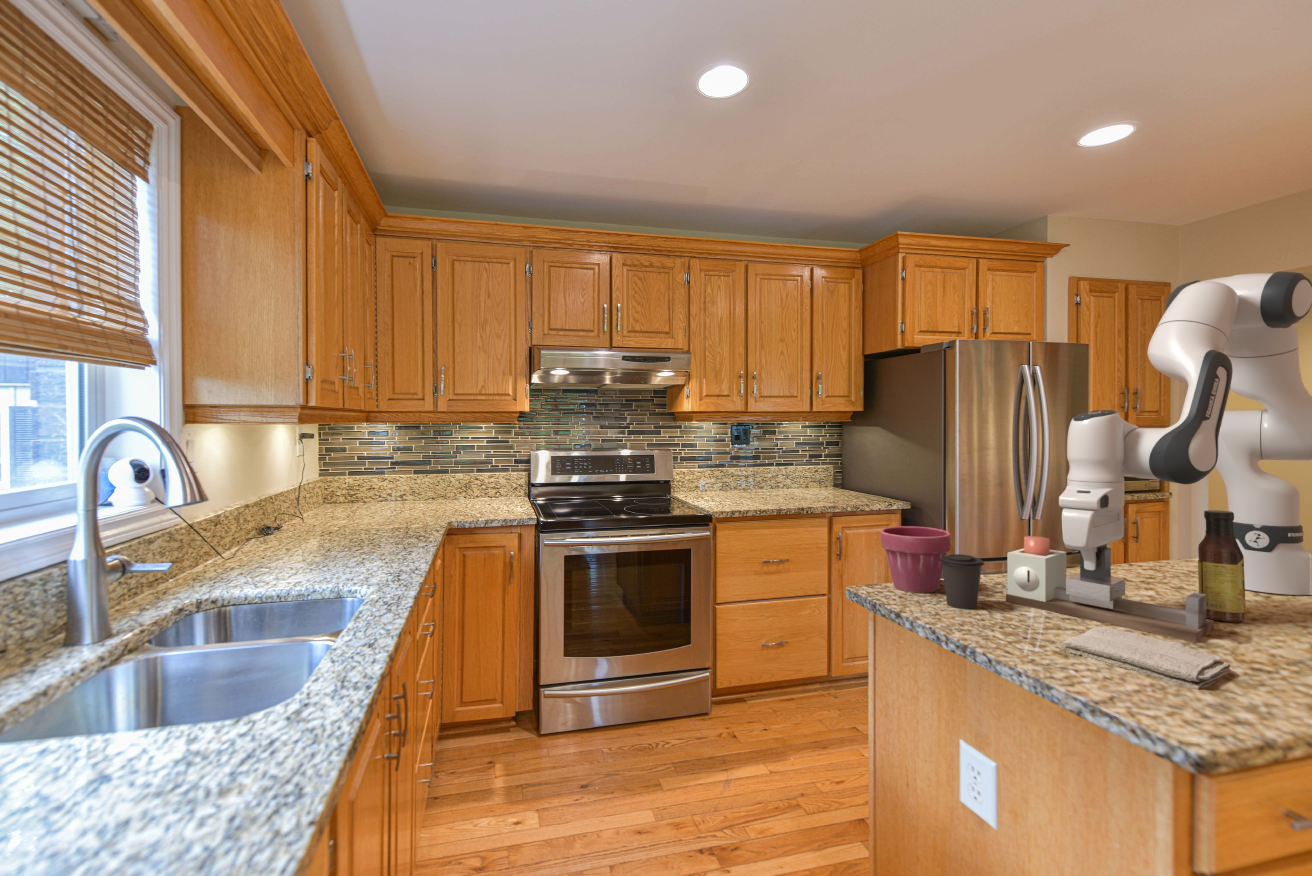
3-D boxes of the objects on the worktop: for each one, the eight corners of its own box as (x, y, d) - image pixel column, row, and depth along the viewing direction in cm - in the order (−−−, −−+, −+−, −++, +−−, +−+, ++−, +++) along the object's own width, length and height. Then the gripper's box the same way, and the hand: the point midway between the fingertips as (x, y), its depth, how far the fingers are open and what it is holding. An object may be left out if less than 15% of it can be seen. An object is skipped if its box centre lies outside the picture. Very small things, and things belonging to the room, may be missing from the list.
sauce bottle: (1254, 624, 107) (1255, 514, 106) (1214, 622, 108) (1214, 513, 108) (1227, 613, 113) (1227, 509, 113) (1189, 612, 114) (1189, 508, 114)
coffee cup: (983, 613, 114) (983, 561, 114) (937, 607, 119) (936, 557, 119) (985, 603, 121) (985, 554, 121) (941, 597, 126) (941, 550, 125)
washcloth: (1204, 696, 80) (1205, 673, 80) (1057, 654, 95) (1057, 634, 95) (1234, 676, 86) (1234, 654, 86) (1092, 639, 101) (1092, 621, 101)
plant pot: (880, 592, 130) (879, 534, 130) (881, 577, 143) (881, 524, 143) (953, 599, 124) (953, 538, 124) (948, 583, 137) (947, 527, 137)
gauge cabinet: (1029, 593, 128) (1029, 546, 128) (1066, 600, 122) (1066, 552, 122) (1006, 601, 122) (1006, 553, 122) (1044, 609, 116) (1044, 558, 116)
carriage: (1082, 595, 119) (1082, 542, 119) (1125, 603, 114) (1125, 547, 113) (1066, 602, 115) (1065, 547, 114) (1109, 610, 109) (1109, 553, 109)
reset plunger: (1029, 561, 125) (1029, 535, 125) (1053, 565, 122) (1053, 538, 122) (1020, 564, 123) (1020, 537, 123) (1044, 568, 119) (1044, 540, 119)
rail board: (1029, 592, 129) (1029, 562, 128) (1213, 628, 104) (1214, 592, 104) (1005, 601, 122) (1005, 570, 122) (1196, 642, 98) (1196, 603, 98)
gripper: (1095, 490, 123) (1096, 557, 123) (1054, 498, 110) (1055, 572, 111) (1133, 493, 117) (1133, 562, 118) (1094, 501, 105) (1095, 579, 106)
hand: (1095, 567), depth 114 cm, fingers closed on carriage, 3 cm apart
